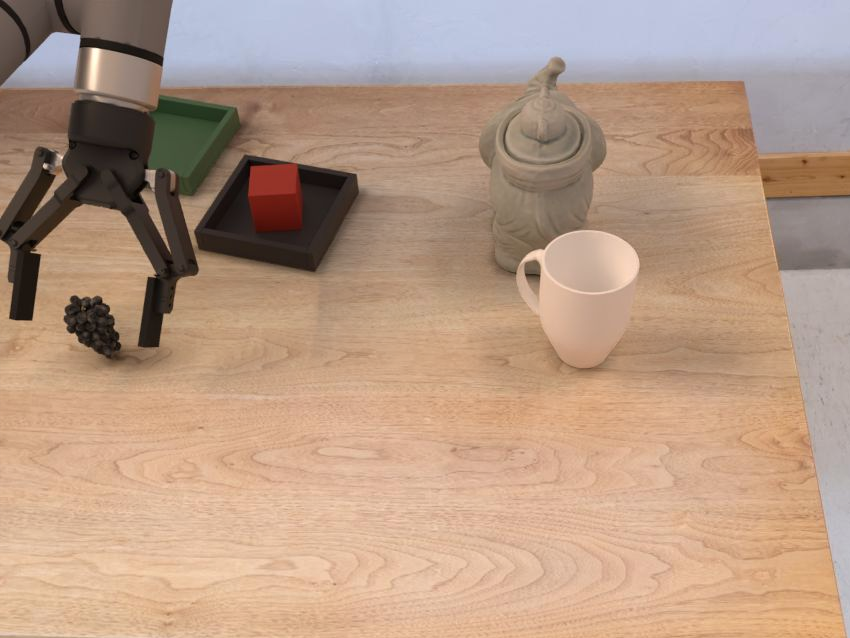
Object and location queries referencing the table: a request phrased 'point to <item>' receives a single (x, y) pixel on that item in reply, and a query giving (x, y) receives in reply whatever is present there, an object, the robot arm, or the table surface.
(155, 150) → the green tray
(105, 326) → the fruit
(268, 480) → the table surface
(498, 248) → the lidded stone jar
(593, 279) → the mug
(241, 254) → the black tray
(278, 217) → the red block
